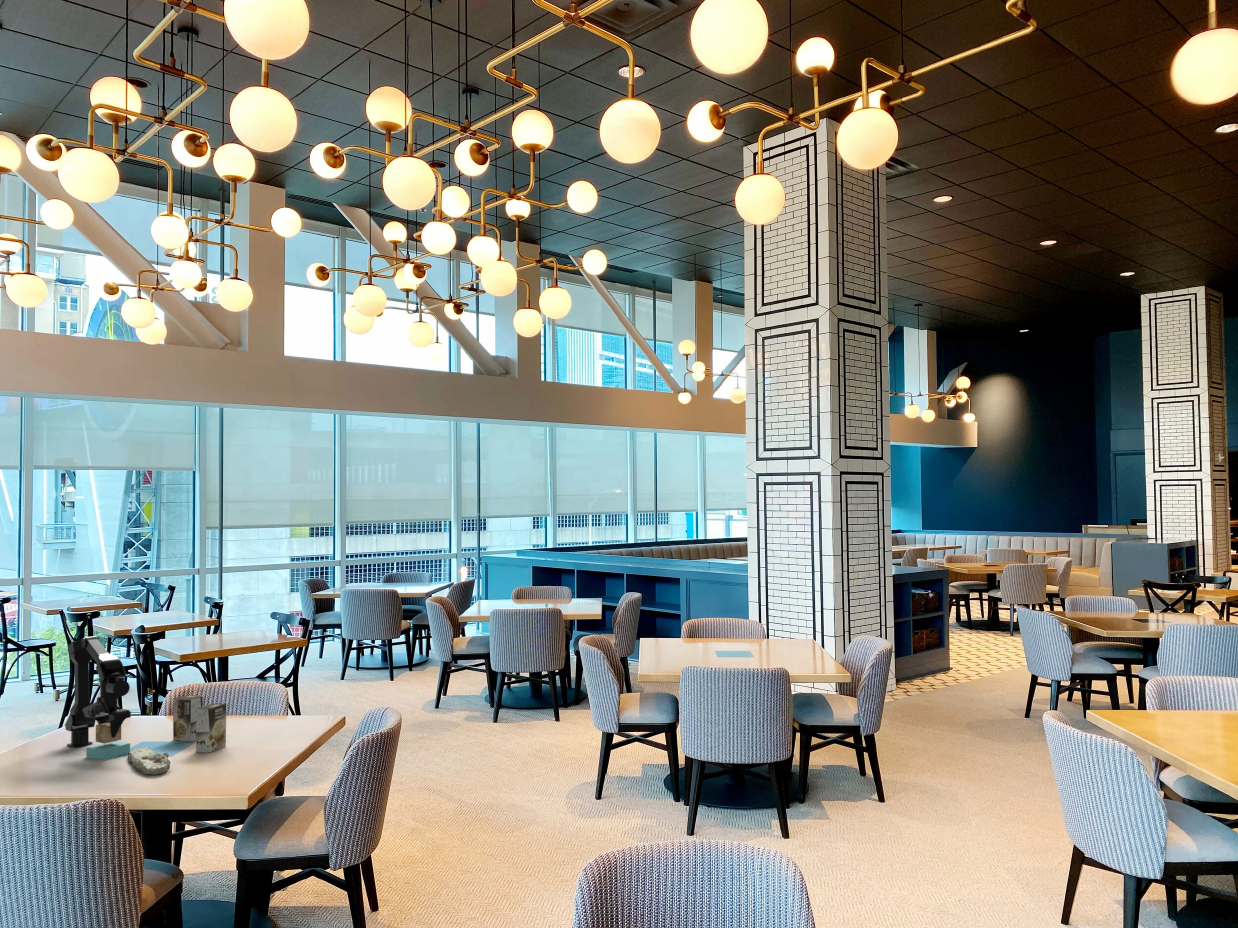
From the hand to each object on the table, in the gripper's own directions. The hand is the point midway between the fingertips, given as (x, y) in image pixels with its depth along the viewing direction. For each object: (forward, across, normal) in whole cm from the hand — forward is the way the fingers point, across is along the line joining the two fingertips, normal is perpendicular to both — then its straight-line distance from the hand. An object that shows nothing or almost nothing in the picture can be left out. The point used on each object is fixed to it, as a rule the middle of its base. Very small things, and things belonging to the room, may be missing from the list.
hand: (108, 736), depth 326 cm
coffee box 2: (+7, +27, +23) cm, 36 cm away
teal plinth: (+7, 0, 0) cm, 7 cm away
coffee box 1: (+7, +5, +28) cm, 29 cm away
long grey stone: (+7, +26, 0) cm, 27 cm away
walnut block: (+2, 0, 0) cm, 2 cm away
